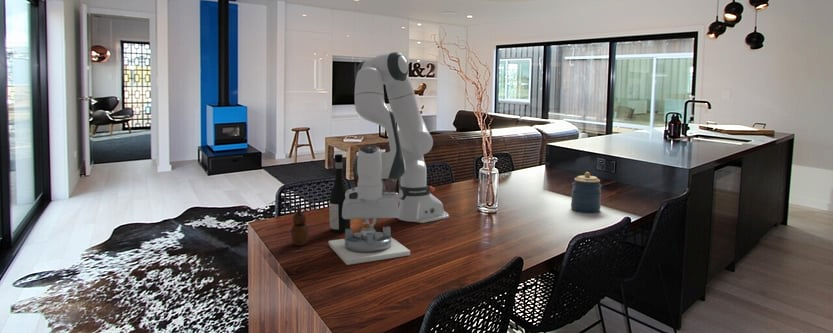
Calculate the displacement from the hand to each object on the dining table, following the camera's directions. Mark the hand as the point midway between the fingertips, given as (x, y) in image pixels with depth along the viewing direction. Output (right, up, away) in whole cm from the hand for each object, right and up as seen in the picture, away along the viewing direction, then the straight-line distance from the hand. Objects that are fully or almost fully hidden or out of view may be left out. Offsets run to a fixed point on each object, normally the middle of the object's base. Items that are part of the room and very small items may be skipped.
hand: (370, 230), depth 177 cm
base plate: (0, -6, -6) cm, 8 cm away
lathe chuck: (0, -4, -6) cm, 7 cm away
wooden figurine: (-25, -5, 0) cm, 26 cm away
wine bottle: (-14, -3, +18) cm, 23 cm away
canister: (+94, +3, +51) cm, 107 cm away
